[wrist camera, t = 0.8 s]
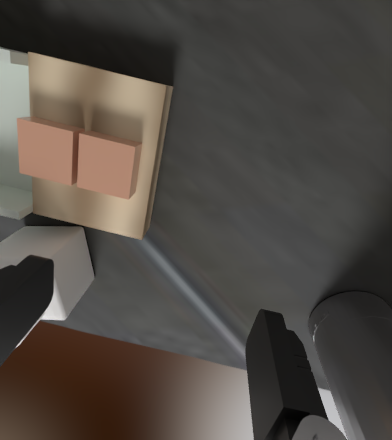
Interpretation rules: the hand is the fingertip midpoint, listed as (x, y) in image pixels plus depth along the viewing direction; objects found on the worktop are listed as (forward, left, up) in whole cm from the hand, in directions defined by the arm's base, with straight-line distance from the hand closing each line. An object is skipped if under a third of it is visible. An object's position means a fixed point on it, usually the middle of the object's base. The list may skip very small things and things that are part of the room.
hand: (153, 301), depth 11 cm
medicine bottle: (+14, +13, -19) cm, 26 cm away
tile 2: (+12, 0, -15) cm, 20 cm away
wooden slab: (+9, 0, -18) cm, 21 cm away
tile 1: (+7, 0, -15) cm, 17 cm away
